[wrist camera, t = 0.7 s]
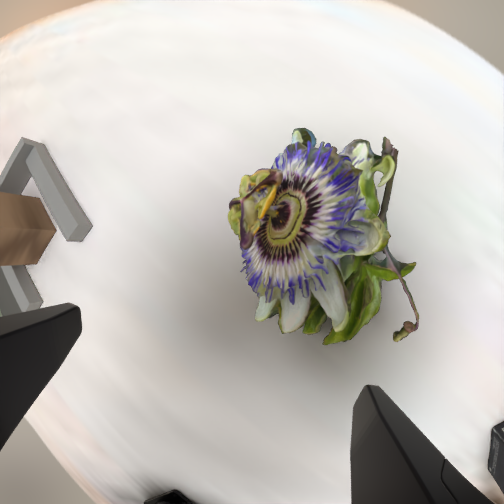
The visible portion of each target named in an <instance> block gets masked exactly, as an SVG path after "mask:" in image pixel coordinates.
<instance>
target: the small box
mask: <svg viewBox="0 0 504 504" xmlns="http://www.w3.org/2000/svg"><path fill="white" fill-rule="evenodd" d="M488 470H489V471H490V473H491V475H492V476H493V478H494V479H495V481H496V482H497V484H498V486H499V487H500V489H501V491H502V492H503V494H504V422H502V423H501V424H499V425H497V426H495V427H494V428H493V430H492V440H491V450H490V457H489V461H488Z"/></svg>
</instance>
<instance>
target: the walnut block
mask: <svg viewBox="0 0 504 504" xmlns="http://www.w3.org/2000/svg"><path fill="white" fill-rule="evenodd" d="M56 231H57V230H56V229H55V227H54V225H53V223H52V221H51V220H50V218H49V216H48V214H47V212H46V210H45V208H44V206H43V204H42V202H41V200H40V198H36V197H30V196H23V195H17V194H11V193H4V192H0V266H11V265H30V264H37V263H38V261H39V259H40V257H41V256H42V254H43V252H44V250H45V249H46V247H47V245H48V244H49V242H50V240H51V239H52V237H53V235H54V234H55V232H56Z"/></svg>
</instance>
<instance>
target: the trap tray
mask: <svg viewBox="0 0 504 504" xmlns="http://www.w3.org/2000/svg"><path fill="white" fill-rule="evenodd" d="M31 175H32V177H33V179H34V181H35V183H36V185H37V187H38V189H39V191H40V193H41V195H42V197H43V199H44V201H45V203H46V205H47V207H48V209H49V210H50V212H51V214H52V216H53V218H54V220H55V221H56V223H57V225H58V227H59V229H60V230H61V232H62V234H63V236H64V237H65V239H66V241H74V242H82V240H83V239H84V238H85V236H86V235H87V233H88V232H89V231H90V229H91V228H92V224H91V223H90V221H89V220H88V218H87V217H86V215H85V213H84V212H83V210H82V209H81V207H80V206H79V204H78V202H77V201H76V199H75V197H74V196H73V194H72V193H71V191H70V189H69V188H68V186H67V184H66V183H65V181H64V179H63V177H62V176H61V174H60V172H59V171H58V169H57V167H56V165H55V163H54V162H53V160H52V158H51V156H50V154H49V153H48V151H47V149H46V147H45V145H44V144H41V143H38V142H35V141H32V140H29V139H26V138H23V137H22V138H21V139H20V141H19V143H18V144H17V146H16V148H15V149H14V151H13V153H12V155H11V157H10V158H9V160H8V162H7V164H6V166H5V168H4V169H3V171H2V173H1V175H0V192H4V193H11V194H17V195H21V193H22V191H23V189H24V187H25V186H26V184H27V182H28V180H29V179H30V177H31ZM42 303H43V300H42V298H41V297H40V295H39V293H38V291H37V289H36V287H35V285H34V284H33V282H32V280H31V278H30V276H29V274H28V272H27V270H26V268H25V266H24V265H11V266H0V317H2V316H7V315H12V314H16V313H21V312H26V311H31V310H36V309H39V308H40V306H41V304H42Z"/></svg>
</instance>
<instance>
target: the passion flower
mask: <svg viewBox="0 0 504 504" xmlns="http://www.w3.org/2000/svg"><path fill="white" fill-rule="evenodd" d="M324 143H325V142H321V144H320V147H319V149H317V148H314V147H315V145H316V138H315V136H314V134H313V133H312V132H311V131H309V130H308V129H306V128H297V129H294V131H293V133H292V144H291V145H288V146H287V147H286V149H285V150H284V153H280V154H279V156H277V157H276V158H275V161H274V163H273V166H272V168H271V169H259V170H257V171H256V172H255V173H254V174H253V175H251V176H249V175H245V176H243V177H242V179H241V184H240V189H239V194H240V197H238V198H234V199H232V200H231V202H230V203H229V208H230V211H229V213H228V221H229V223H230V225H231V229H232V230H233V231H234V233H235V234H236V235H239V240H241V241H240V248H241V250H242V257H243V258H244V259H246V260H245V261H244V262H243V263H245V262H247V263H246V266H245V267H244V268H243V269H242V270H241V271H240V272H242V271H243V270H244V269H246V274H247V273H248V276H247V277H246V280H247V281H248V285H250V286H251V287H252V289H253V291H254V292H255V293H257V296H258V297H259V304H258V307H257V311H256V313H255V320H256V321H264V320H265V319H268V318H271V317H273V316H274V315H275V314H279V321H278V325H279V327H280V329H281V332H282V334H283V333H291V332H294V331H296V330H297V329H299V328H301V327H302V326H303V325H304V324H305V326H304V329H303V332H302V333H304V334H308V335H311V334H314V333H318V332H320V329H321V326H322V325H323V323H324V322H325V321H326V319H327V316H328V317H330V318H331V319H332V325H333V326H332V328H331V332H329V335H327V336H326V337H325V338H324V340H323V341H324V342H323V343H322V344H323V345H328V344H333V343H338V342H345V341H347V340H351V339H352V338H353V337H354V336H355V335H356V334H357V333H358V331H359V330H360V329H361V328H362V326H364V325H366V324H368V323H369V321H370V320H371V318H373V317H374V316H375V315H376V314H377V313H378V311H379V309H380V303H381V298H382V297H381V289H382V283H381V281H382V280H383V279H384V280H386V281H391V280H393V279H400V281H401V283H402V285H403V289H404V291H405V292H406V294H407V295H408V298H409V300H410V303H411V306H412V308H413V310H414V313H415V316H416V320H417V322H416V324H415V325H414V324H413V323H412V322H409V321H406V322H404V324H403V325H404V326H403V328H402V329H401V330H400V331H396V332H394V334H393V340H394V341H395V342H398V341H399V340H402V339H403V338H405V337H407V336H408V334H409V333H411V332H413V331H415V330H417V329H418V324H419V314H418V312H417V310H416V307H415V304H414V302H413V298H412V296H411V293H410V292H409V290H408V288H407V286H406V282H405V281H404V279H403V278H402V277H404V276H405V275H407V274H408V273H410V272H411V271H412V270H413V269H414V267H415V266H416V262H413V263H409V264H407V263H401V262H399V261H397V260H396V259H395V258H394V257H393V256H392V255H391V253H390V252H389V250H388V246H387V244H388V240H389V238H390V237H391V236H390V234H389V232H388V231H387V219H386V212H387V210H388V204H389V200H390V194H391V189H392V183H393V178H394V175H395V171H396V167H397V155H398V151H397V149H395V147H394V148H393V147H392V146H393V145H392V144H390V140H389V139H387V138H386V137H383V144H382V148H383V150H382V152H381V153H382V156H379V155H376V154H374V153H373V152H372V150H371V148H370V143H369V141H366V140H362V139H357V140H353V141H352V142H351V143H349V144H348V145H347V146H346V147H345V148H344V150H343V151H342V152H341V153H339V154H337V153H336V152H337V148H336V147H333V146H332V147H331V144H330V143H327V144H326V145H325V147H324ZM376 171H380V172H382V173H383V175H384V176H383V177H382V178H381V181H380V183H379V184H378V187H381V186H382V185H384V184H385V183H386V182H387V183H386V187H385V192H384V197H383V201H382V205H381V211H380V213H379V209H380V205H379V202H378V199H377V190H376V187H375V184H374V180H373V177H374V173H375V172H376ZM378 213H379V215H378ZM377 215H378V216H377ZM380 251H383V253H384V254H386V258H385V259H384V260H381V261H378V260H377V259H376V258H375V257H374V256H373V255H374V253H375V252H380Z"/></svg>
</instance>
